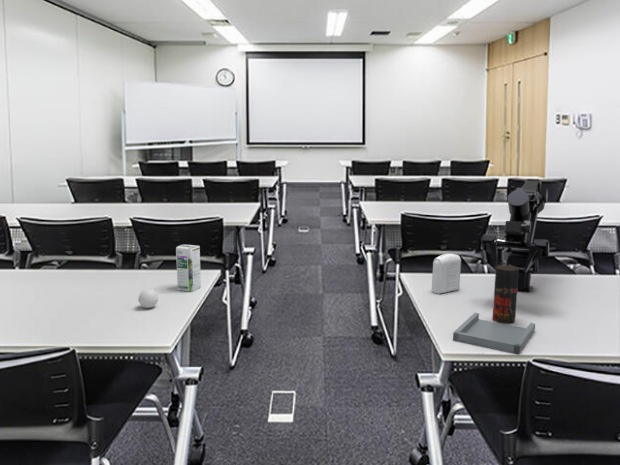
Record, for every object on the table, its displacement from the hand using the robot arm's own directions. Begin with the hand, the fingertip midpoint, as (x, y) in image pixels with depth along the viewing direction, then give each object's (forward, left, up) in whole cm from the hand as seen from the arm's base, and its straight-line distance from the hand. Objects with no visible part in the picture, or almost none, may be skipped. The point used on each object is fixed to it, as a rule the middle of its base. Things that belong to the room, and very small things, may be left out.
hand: (509, 269), depth 159 cm
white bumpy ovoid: (+56, -91, -13) cm, 107 cm away
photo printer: (-9, -22, -13) cm, 27 cm away
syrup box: (+35, -93, -13) cm, 101 cm away
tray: (+22, +2, -12) cm, 25 cm away
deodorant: (+9, +1, -13) cm, 15 cm away
